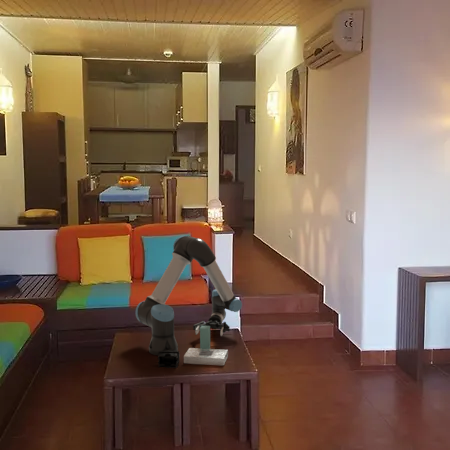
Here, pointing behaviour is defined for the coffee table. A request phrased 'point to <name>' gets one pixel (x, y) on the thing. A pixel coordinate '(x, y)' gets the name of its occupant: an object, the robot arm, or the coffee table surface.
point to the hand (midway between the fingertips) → (208, 332)
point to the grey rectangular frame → (206, 356)
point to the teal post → (205, 337)
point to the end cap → (168, 359)
